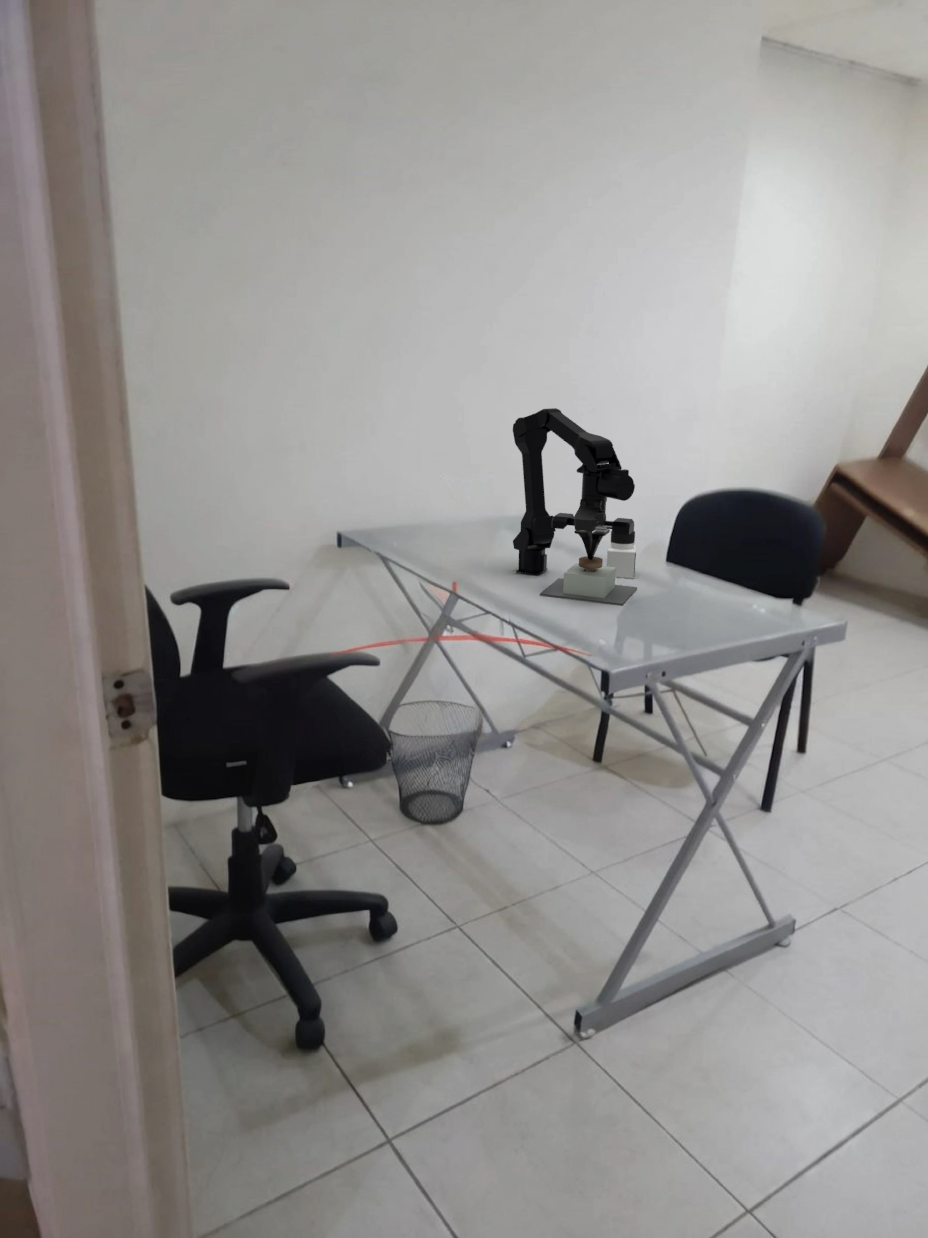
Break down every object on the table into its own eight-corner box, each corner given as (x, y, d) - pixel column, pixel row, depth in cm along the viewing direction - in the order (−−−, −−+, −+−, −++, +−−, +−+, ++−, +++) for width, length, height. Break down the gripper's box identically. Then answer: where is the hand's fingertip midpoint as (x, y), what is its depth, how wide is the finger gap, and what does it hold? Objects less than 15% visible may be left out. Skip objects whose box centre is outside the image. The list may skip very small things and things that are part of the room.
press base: (539, 595, 205) (540, 573, 203) (558, 580, 218) (559, 558, 216) (622, 605, 197) (624, 582, 196) (637, 589, 211) (638, 567, 209)
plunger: (574, 587, 206) (576, 560, 204) (581, 581, 211) (582, 555, 209) (597, 589, 204) (599, 563, 202) (603, 583, 209) (605, 557, 207)
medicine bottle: (634, 578, 220) (637, 532, 216) (605, 577, 221) (608, 531, 217) (634, 571, 226) (637, 526, 223) (607, 570, 228) (609, 525, 224)
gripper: (545, 496, 197) (542, 562, 202) (625, 502, 190) (621, 571, 195) (559, 489, 207) (556, 552, 211) (636, 494, 200) (632, 560, 204)
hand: (590, 559), depth 205 cm, fingers closed, pressing on plunger
